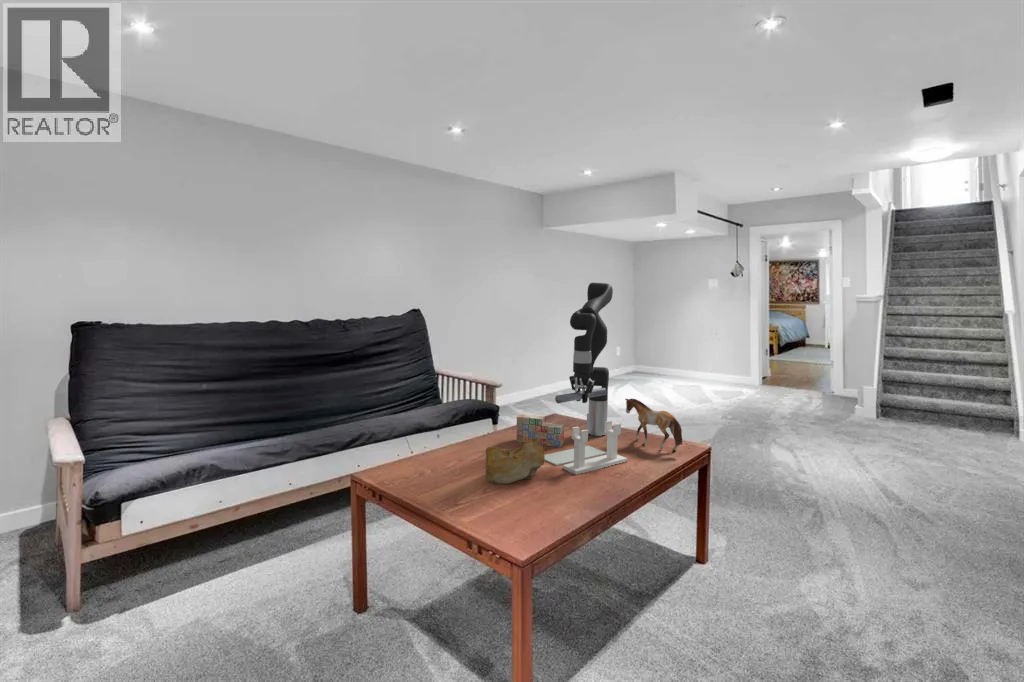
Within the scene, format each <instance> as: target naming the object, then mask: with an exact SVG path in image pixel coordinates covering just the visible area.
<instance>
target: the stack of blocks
mask: <svg viewBox="0 0 1024 682" xmlns="http://www.w3.org/2000/svg"><path fill="white" fill-rule="evenodd" d="M546 420H547V419H546V415H537V414H526V413H520V414H518V415H517V416H516V442H517V441H518V442H517V443H522V442H525V441H527V440H529V439H532V438H537V439H539V441H540V443H541V444H542V446H547V447H554V448H561V447H562V446H563V445H564V443H565V440H564V439H565V424H564V423H554V422H553V423H552V422H547V421H546Z"/></svg>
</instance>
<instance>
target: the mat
mask: <svg viewBox="0 0 1024 682" xmlns="http://www.w3.org/2000/svg"><path fill="white" fill-rule="evenodd" d="M603 454H604V455H607V451H603V450H601V449H598V448H596V447H593V446H591V445H585V460H587V459H591V458H595V457H599V456H603ZM544 456H545V458H544V459H545V461H546V462H547V463H549V464H552V465H553V464H554V466H555V467H557V466H563V465H566V463H567V464H570V463H574V448H571V449H565V450H561V451H556V452H551V453H547V454H544ZM545 461H544V462H545Z"/></svg>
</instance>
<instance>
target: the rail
mask: <svg viewBox="0 0 1024 682" xmlns="http://www.w3.org/2000/svg"><path fill="white" fill-rule="evenodd" d="M606 393H607V391H606V389H605V388H601V387H600V388H599V387H598V388H593V390H592V393H589V394H588V399H589V398H591V397H596V396H602V395H606ZM582 394H583V393H582V390H581V391H580V392H575V391H574V392H571V393H565V394H557V395H555V398H554V401H555V403H556V404H562V403H567V402H568V403H569V402H573V401H576V400H580V399H581V400H582Z"/></svg>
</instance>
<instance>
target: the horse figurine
mask: <svg viewBox="0 0 1024 682" xmlns="http://www.w3.org/2000/svg"><path fill="white" fill-rule="evenodd" d="M624 400H625V401H626V403H625V404H626V407H625V413H626V414H631V411H632V410H633V409H635V411H636V413H637V414H638V417H637V418H638V419H637V420H638V421H639V423H640V425H639V426H638V428H637V431H636V435H635V441H639V440H640V438H639V434H640V431H641V430H643V434H644V441H643V442H642V443H641V445H642V444H645V445H646V444H647V442H648V427H647V425H650V426H657V427H658V429H660V432H661V433H662V434H663V435H664V438H663V440H662V441H661V442H660V445H659V450H660V449H661V450H662V449H663V448H664V446H663V445H664V444H665V443H666V441H667V439H669V437H670V433H671V435H672V436H673V438H674V447H673V448H672V449H673V450H672V451H674V450H675V451H677V450H678V446H680V445H681V446H682V445H683V434H682V432H683V431H682V427H681V424H680V422H679V421H678V419H676V417H675V416H674V415H673V414H672V413H670V412H668V411H666V410H653V409H651V408H650V407H649V406H647V404H645V403H644V402H642V401H641V400H638V399H635V398H629V399H628V398H625V399H624ZM667 428H669V431H670V433H668V431H667Z"/></svg>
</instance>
